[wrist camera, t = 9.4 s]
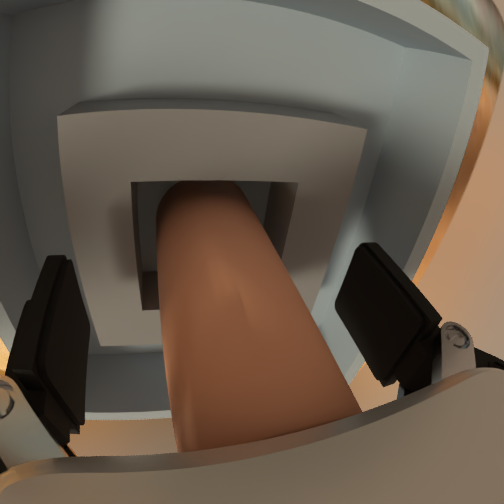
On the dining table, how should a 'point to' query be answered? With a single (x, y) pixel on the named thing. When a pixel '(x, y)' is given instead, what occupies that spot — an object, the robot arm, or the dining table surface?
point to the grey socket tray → (220, 151)
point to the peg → (236, 327)
